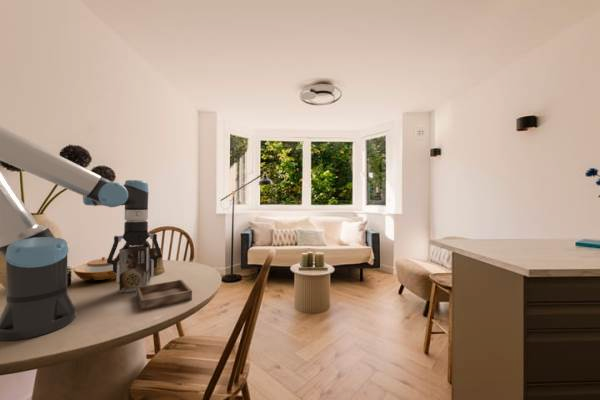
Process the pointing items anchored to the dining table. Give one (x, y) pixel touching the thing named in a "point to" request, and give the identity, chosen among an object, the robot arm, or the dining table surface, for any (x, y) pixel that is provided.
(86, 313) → the dining table surface
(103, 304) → the dining table surface
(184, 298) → the walnut tray
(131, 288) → the coffee box
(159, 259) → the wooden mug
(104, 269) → the lidded jar
